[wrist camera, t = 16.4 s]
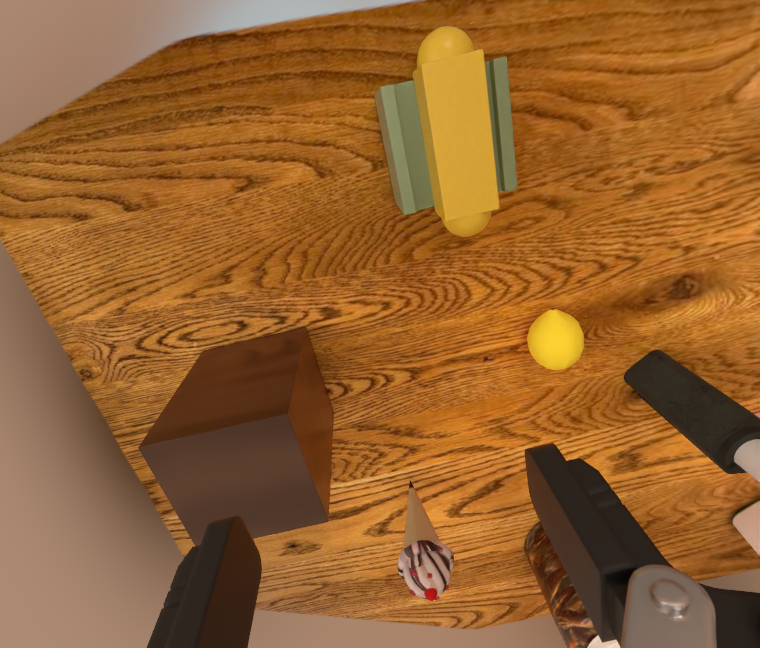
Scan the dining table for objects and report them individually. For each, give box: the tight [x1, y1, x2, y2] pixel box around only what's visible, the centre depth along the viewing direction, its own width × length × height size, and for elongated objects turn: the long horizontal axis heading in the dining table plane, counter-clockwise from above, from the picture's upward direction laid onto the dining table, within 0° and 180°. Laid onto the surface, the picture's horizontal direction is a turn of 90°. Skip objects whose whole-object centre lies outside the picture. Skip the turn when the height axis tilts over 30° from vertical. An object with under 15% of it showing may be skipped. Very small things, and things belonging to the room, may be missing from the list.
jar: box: [525, 522, 620, 648], centre depth 53 cm, size 12×12×15 cm
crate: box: [138, 327, 334, 546], centre depth 39 cm, size 11×11×15 cm
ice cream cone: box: [398, 481, 454, 601], centre depth 46 cm, size 6×6×15 cm
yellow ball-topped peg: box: [413, 26, 499, 237], centre depth 30 cm, size 14×4×4 cm, turn 13°
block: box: [374, 56, 517, 215], centre depth 34 cm, size 9×9×7 cm
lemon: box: [527, 308, 584, 370], centre depth 43 cm, size 7×5×5 cm
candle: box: [624, 350, 760, 483], centre depth 38 cm, size 5×5×25 cm
